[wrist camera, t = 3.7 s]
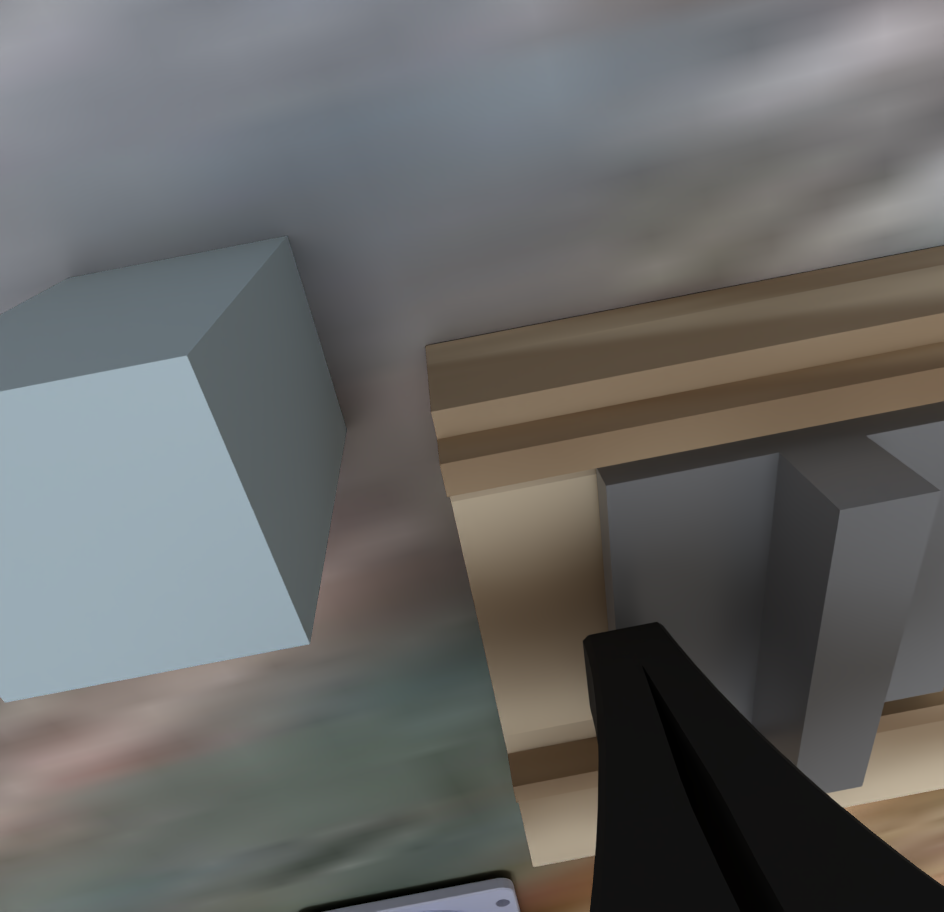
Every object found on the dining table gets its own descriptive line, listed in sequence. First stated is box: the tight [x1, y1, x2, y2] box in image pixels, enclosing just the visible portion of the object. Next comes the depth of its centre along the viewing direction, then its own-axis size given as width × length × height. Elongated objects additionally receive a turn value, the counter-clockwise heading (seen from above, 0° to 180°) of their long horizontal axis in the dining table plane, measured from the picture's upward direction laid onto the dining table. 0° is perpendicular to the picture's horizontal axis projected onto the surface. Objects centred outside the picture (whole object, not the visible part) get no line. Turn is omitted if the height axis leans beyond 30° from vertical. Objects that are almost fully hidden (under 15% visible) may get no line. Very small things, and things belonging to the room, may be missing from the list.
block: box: [0, 236, 347, 702], centre depth 10 cm, size 4×4×6 cm
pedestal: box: [425, 246, 944, 867], centre depth 14 cm, size 14×12×4 cm
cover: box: [596, 401, 944, 793], centre depth 11 cm, size 7×7×2 cm
